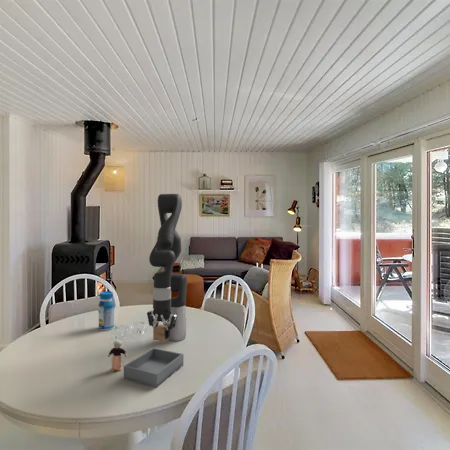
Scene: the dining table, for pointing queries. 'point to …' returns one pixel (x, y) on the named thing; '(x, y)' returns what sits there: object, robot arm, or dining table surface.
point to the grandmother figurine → (117, 355)
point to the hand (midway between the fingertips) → (161, 336)
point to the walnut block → (159, 333)
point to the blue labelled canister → (106, 311)
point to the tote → (153, 367)
